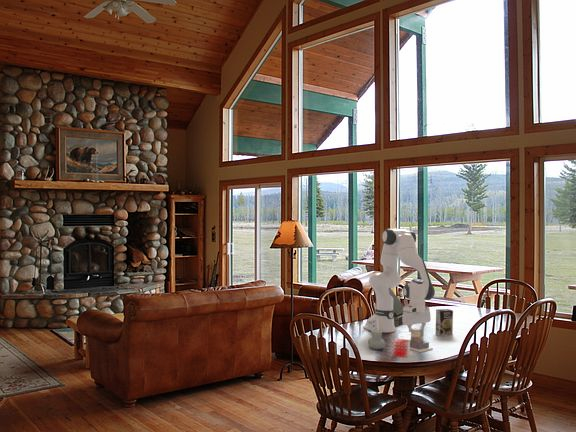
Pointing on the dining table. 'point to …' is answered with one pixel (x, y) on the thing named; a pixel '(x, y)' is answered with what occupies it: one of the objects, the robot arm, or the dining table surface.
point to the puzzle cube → (401, 347)
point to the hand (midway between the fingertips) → (416, 331)
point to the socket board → (420, 346)
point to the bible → (396, 309)
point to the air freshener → (376, 340)
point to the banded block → (417, 335)
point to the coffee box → (444, 322)
